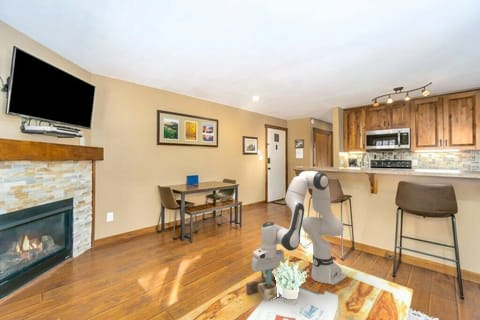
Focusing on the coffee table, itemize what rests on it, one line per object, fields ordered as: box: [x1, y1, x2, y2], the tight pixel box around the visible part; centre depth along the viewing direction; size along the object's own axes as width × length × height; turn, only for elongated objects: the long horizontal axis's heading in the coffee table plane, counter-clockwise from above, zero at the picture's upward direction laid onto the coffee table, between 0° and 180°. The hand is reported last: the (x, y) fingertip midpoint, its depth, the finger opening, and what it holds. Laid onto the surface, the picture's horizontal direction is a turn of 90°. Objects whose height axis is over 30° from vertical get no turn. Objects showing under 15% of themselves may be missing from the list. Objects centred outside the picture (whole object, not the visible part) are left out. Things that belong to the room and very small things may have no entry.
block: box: [257, 282, 277, 302], centre depth 126 cm, size 9×9×5 cm
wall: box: [245, 276, 276, 296], centre depth 131 cm, size 22×2×6 cm, turn 114°
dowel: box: [266, 269, 272, 284], centre depth 126 cm, size 3×3×9 cm
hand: (268, 276), depth 126 cm, fingers closed on dowel, 3 cm apart
